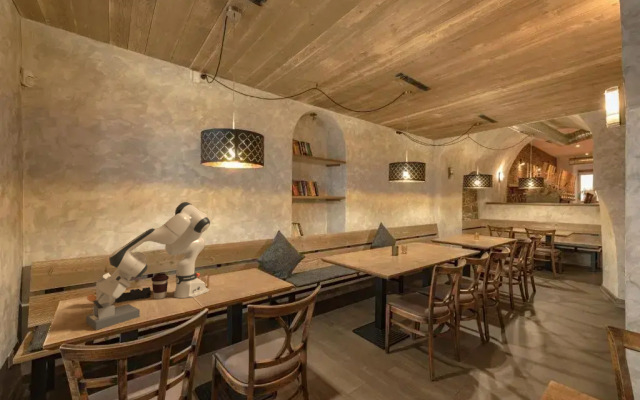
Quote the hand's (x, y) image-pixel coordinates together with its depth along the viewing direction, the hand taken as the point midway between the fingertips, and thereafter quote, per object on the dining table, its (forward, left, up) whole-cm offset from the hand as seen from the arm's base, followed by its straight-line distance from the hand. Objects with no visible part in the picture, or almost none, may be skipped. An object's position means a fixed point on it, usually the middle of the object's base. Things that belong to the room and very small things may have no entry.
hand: (98, 302), depth 152 cm
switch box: (-7, 0, -12) cm, 14 cm away
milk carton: (-13, -28, -12) cm, 33 cm away
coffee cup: (-39, -15, -12) cm, 44 cm away
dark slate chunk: (-29, -31, -12) cm, 44 cm away
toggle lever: (-3, 0, -6) cm, 6 cm away
